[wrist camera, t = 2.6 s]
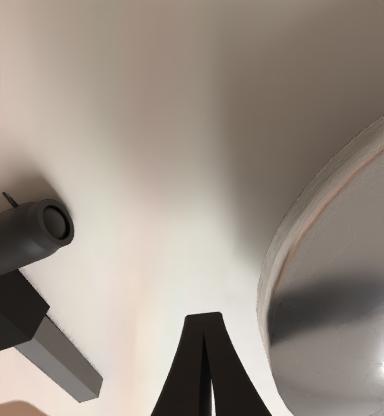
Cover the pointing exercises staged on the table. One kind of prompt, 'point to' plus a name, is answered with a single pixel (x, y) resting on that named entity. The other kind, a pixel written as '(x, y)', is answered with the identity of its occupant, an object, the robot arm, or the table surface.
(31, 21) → the table surface
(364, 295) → the cooker lid
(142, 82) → the table surface
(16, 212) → the gun
